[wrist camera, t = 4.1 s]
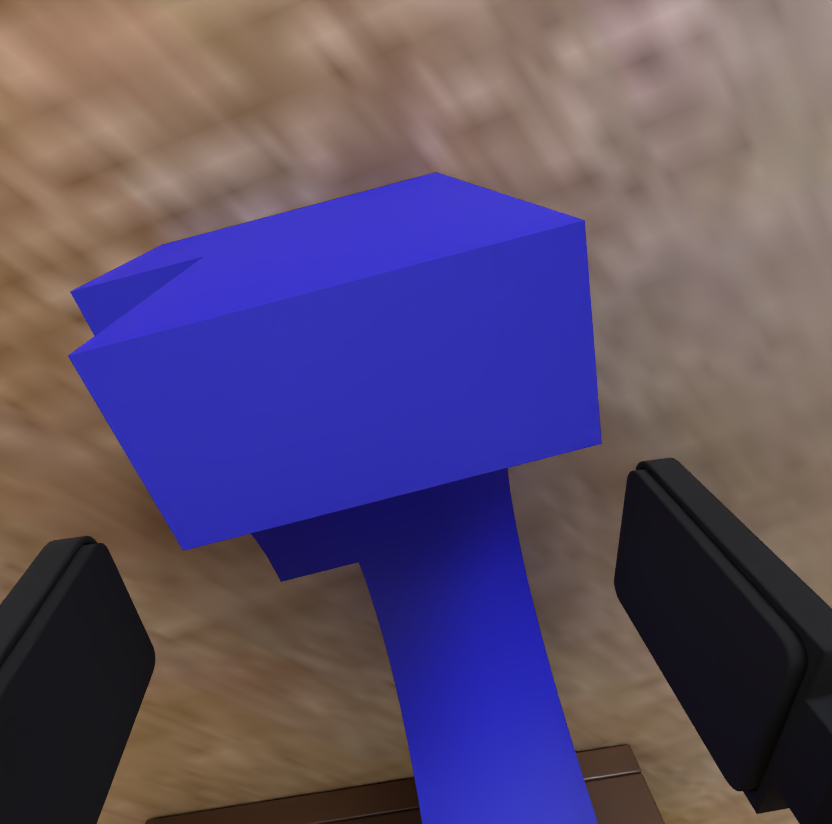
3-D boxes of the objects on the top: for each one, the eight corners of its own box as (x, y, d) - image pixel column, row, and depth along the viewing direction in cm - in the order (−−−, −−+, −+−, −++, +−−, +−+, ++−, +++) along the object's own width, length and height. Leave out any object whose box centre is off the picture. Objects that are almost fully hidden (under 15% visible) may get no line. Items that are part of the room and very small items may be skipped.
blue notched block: (161, 245, 8) (-184, 420, 3) (436, 172, 8) (584, 221, 3) (366, 699, 14) (374, 1045, 9) (531, 658, 14) (642, 980, 8)
